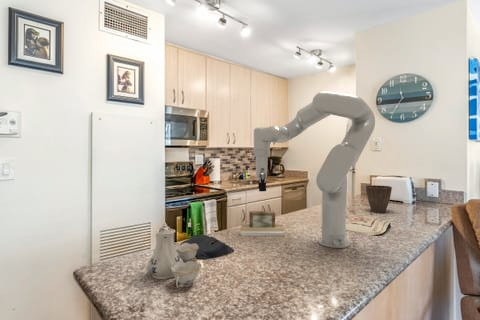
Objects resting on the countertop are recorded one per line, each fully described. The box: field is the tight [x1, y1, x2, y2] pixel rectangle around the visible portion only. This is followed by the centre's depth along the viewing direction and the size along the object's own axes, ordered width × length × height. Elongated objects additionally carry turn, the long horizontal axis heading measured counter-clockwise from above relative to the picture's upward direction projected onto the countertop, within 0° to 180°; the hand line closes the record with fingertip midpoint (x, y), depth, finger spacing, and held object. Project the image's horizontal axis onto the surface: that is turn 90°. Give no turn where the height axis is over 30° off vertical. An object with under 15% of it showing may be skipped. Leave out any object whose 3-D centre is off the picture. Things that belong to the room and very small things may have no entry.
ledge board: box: [240, 223, 286, 237], centre depth 134 cm, size 20×12×3 cm, turn 88°
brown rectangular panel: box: [248, 210, 276, 228], centre depth 134 cm, size 12×4×8 cm, turn 88°
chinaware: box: [146, 222, 202, 288], centre depth 90 cm, size 28×17×17 cm, turn 15°
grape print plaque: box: [346, 214, 392, 236], centre depth 146 cm, size 28×6×30 cm
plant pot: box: [365, 184, 393, 214], centre depth 177 cm, size 15×15×16 cm
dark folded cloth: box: [179, 234, 235, 261], centre depth 112 cm, size 15×22×5 cm
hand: (262, 189), depth 134 cm, fingers open, 9 cm apart
